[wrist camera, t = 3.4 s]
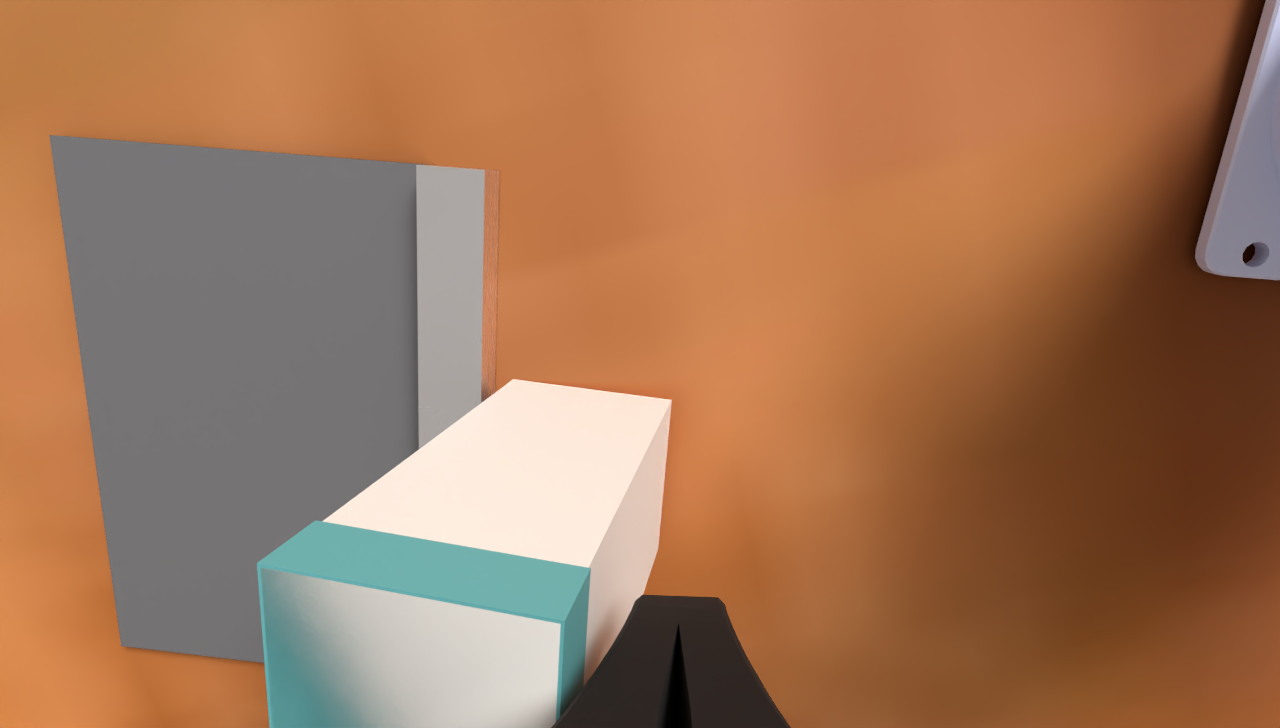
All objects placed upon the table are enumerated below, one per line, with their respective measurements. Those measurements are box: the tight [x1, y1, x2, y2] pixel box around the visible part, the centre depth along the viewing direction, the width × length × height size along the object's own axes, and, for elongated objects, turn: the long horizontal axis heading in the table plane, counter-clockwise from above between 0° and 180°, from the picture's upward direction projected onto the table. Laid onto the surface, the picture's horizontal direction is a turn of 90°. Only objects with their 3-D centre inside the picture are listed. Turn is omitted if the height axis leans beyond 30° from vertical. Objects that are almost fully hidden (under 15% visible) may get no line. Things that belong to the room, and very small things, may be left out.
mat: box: [50, 135, 425, 663], centre depth 18 cm, size 9×14×1 cm, turn 176°
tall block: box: [257, 379, 672, 728], centre depth 14 cm, size 4×4×9 cm
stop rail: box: [416, 165, 500, 449], centre depth 18 cm, size 2×14×1 cm, turn 176°
